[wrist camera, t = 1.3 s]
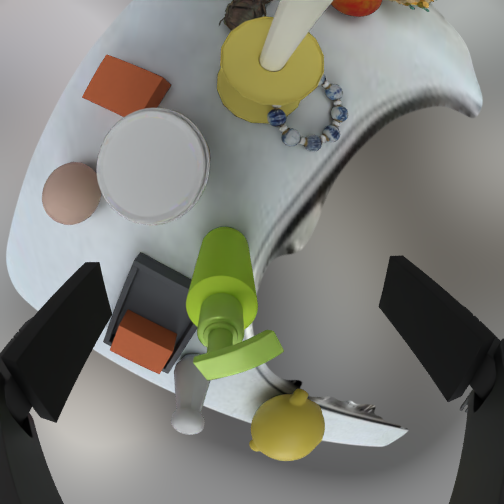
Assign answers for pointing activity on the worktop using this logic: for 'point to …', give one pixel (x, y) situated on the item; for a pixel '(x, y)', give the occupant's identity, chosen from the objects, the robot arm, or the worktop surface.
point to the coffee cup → (153, 166)
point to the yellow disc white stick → (272, 61)
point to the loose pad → (125, 87)
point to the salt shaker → (189, 396)
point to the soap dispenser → (227, 307)
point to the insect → (243, 12)
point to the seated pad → (143, 342)
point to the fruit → (356, 6)
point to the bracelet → (329, 133)
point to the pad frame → (155, 302)
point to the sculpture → (287, 426)
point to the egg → (71, 193)
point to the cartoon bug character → (415, 3)
